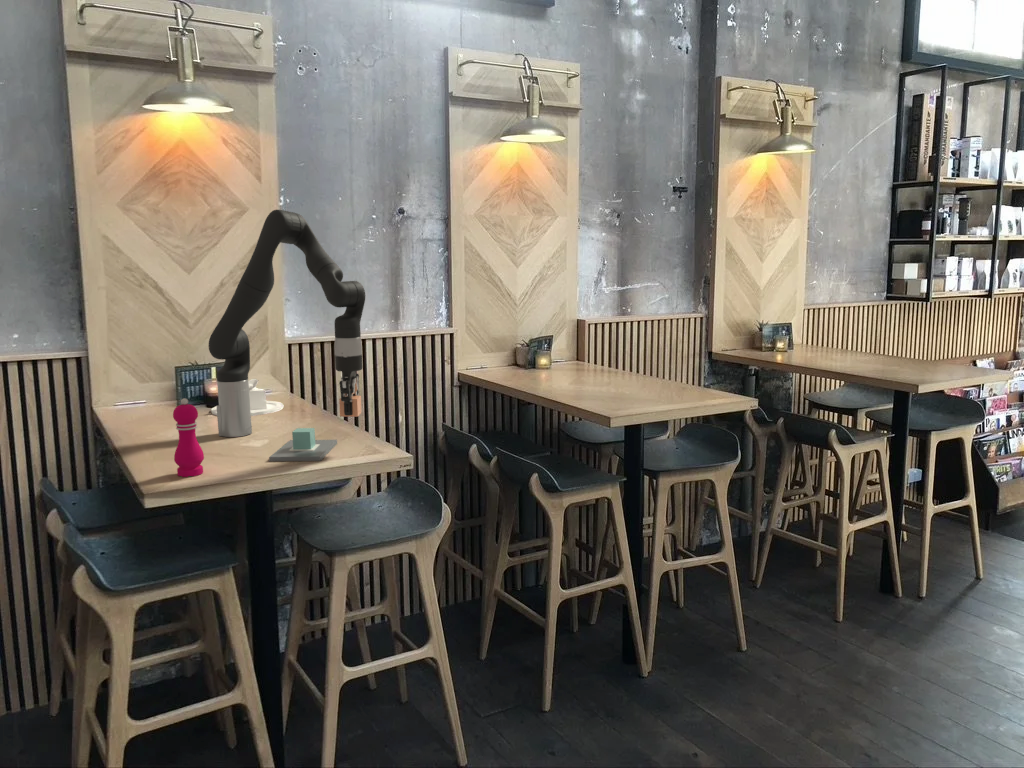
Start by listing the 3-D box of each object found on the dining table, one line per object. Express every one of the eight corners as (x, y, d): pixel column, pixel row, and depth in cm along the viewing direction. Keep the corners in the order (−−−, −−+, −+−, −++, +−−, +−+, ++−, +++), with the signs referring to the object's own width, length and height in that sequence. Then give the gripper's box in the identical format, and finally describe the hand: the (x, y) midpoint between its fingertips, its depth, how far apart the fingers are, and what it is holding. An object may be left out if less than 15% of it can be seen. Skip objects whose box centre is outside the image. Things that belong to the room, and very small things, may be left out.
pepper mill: (180, 470, 224) (174, 396, 220) (208, 469, 224) (202, 395, 221) (171, 478, 217) (165, 401, 213) (200, 477, 217) (194, 400, 214)
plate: (269, 461, 232) (269, 456, 232) (290, 444, 252) (290, 439, 251) (320, 460, 231) (320, 455, 231) (337, 443, 251) (336, 438, 251)
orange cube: (340, 416, 237) (339, 398, 236) (344, 412, 242) (343, 395, 241) (357, 416, 237) (357, 399, 236) (361, 412, 242) (360, 395, 241)
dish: (263, 401, 323) (261, 372, 321) (295, 410, 305) (293, 379, 303) (200, 410, 307) (197, 380, 305) (230, 420, 289) (227, 387, 287)
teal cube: (293, 449, 239) (292, 432, 238) (298, 445, 244) (297, 428, 243) (310, 449, 239) (309, 431, 238) (315, 445, 244) (314, 428, 243)
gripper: (341, 349, 243) (343, 408, 246) (328, 356, 229) (331, 418, 232) (366, 349, 243) (368, 408, 246) (356, 356, 229) (358, 418, 232)
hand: (350, 412), depth 239 cm, fingers closed on orange cube, 5 cm apart
